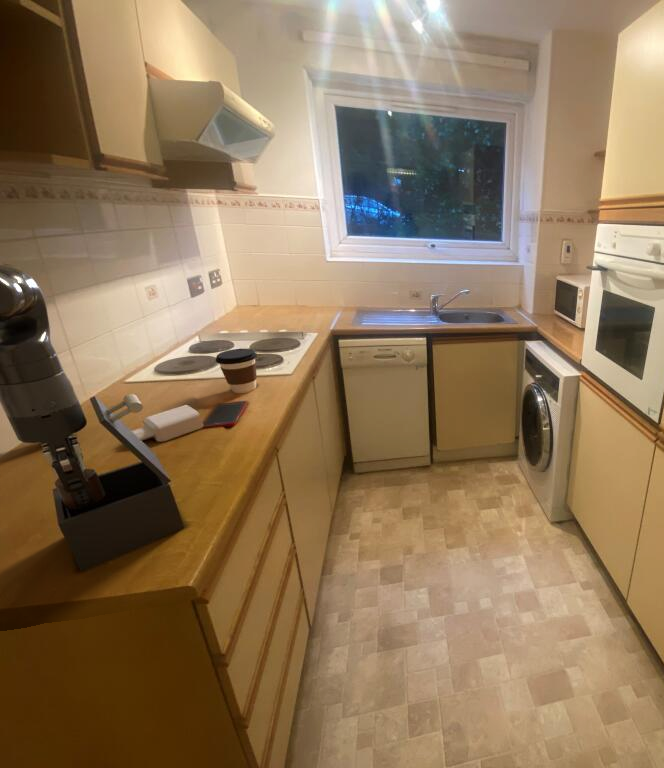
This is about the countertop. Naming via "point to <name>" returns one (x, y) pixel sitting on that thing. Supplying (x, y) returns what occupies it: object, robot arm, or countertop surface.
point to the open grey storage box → (119, 516)
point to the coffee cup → (239, 369)
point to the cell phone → (225, 414)
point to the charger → (170, 424)
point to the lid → (128, 431)
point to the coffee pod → (93, 485)
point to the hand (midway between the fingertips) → (84, 498)
